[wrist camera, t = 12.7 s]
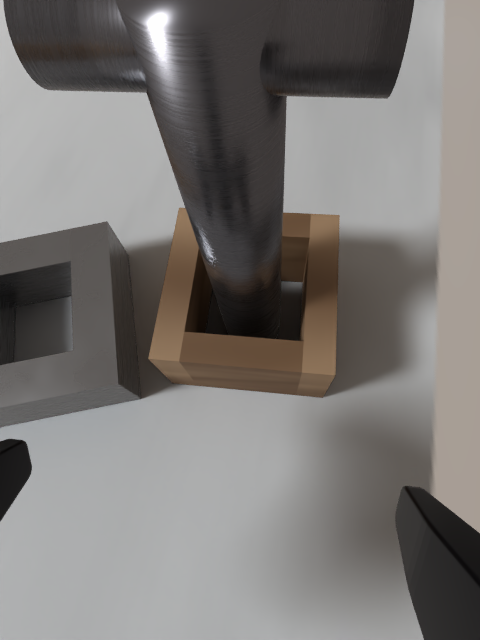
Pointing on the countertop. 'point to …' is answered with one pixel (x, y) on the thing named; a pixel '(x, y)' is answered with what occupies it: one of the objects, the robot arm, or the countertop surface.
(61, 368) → the block
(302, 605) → the countertop surface
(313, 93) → the chuck key
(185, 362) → the wooden square frame
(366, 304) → the countertop surface
